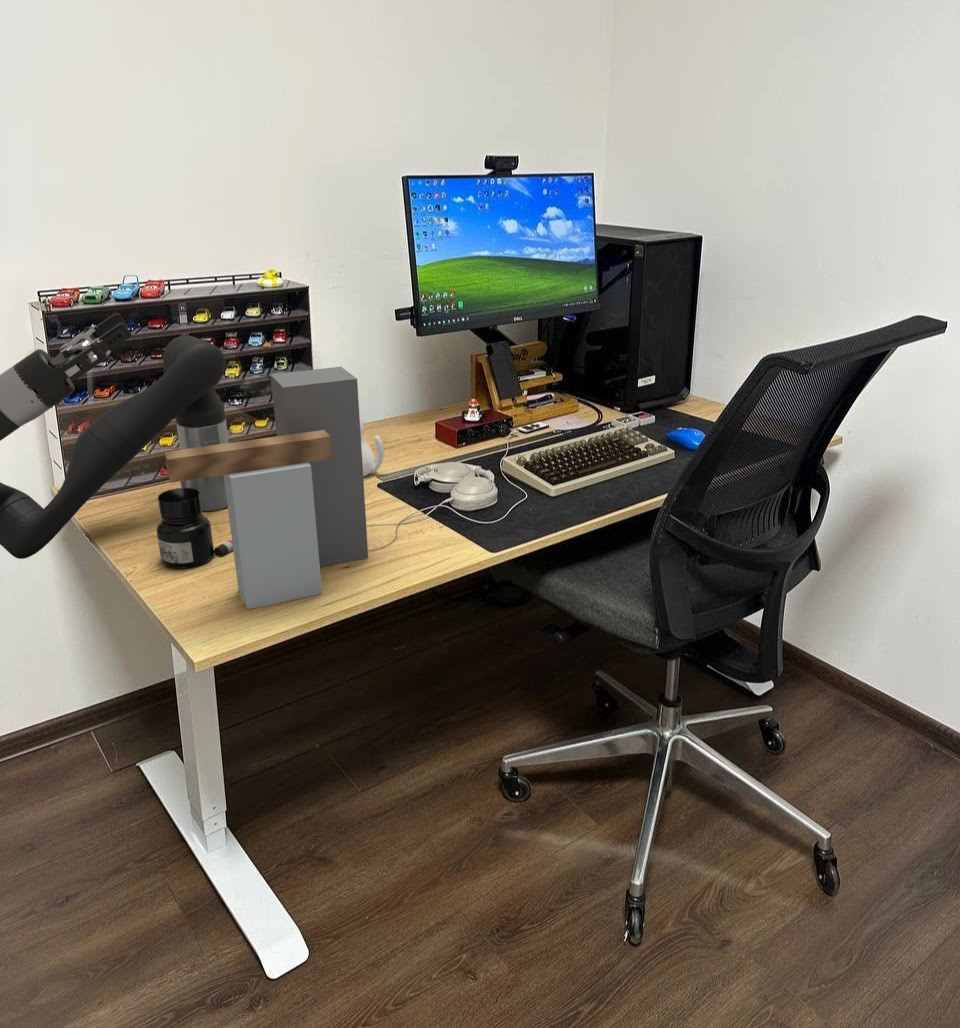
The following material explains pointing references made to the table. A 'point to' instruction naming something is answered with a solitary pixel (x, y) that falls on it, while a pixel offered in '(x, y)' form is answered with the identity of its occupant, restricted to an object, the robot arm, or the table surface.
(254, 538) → the blue-grey step
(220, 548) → the marker
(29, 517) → the robot arm
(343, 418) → the charcoal stand
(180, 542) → the ink bottle
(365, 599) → the table surface
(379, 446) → the cat figurine
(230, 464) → the walnut bar
